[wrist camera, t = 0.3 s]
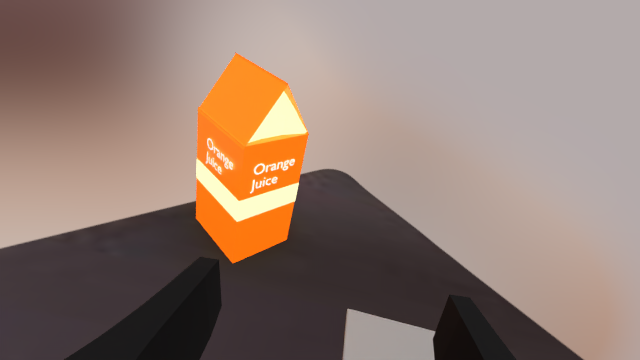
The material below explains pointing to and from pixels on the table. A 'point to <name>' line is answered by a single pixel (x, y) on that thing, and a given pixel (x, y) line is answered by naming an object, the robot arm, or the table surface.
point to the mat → (384, 339)
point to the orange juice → (248, 159)
